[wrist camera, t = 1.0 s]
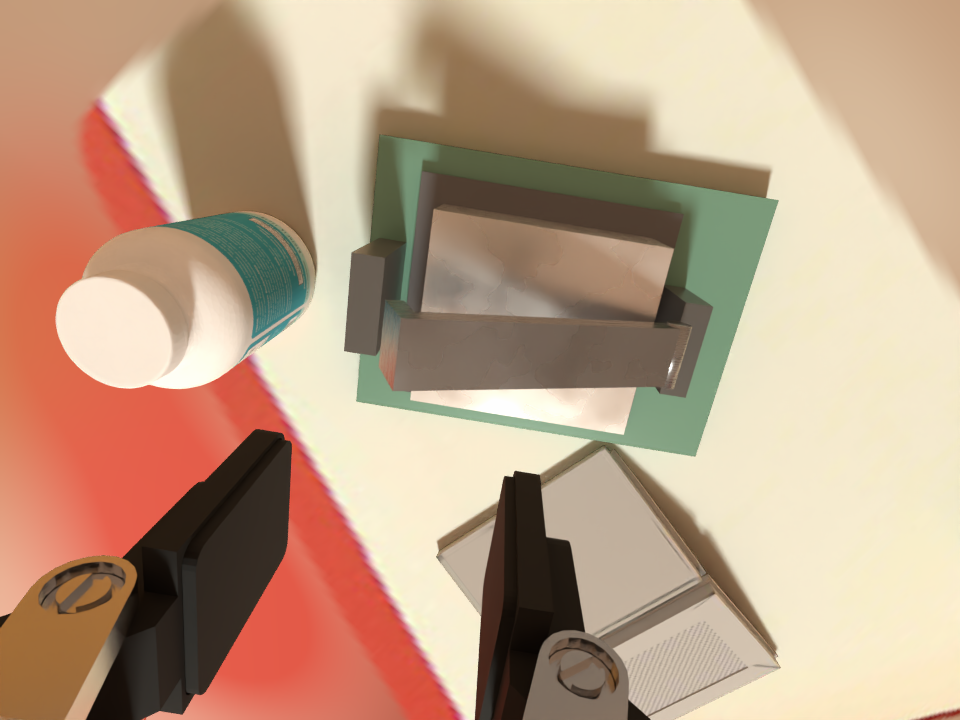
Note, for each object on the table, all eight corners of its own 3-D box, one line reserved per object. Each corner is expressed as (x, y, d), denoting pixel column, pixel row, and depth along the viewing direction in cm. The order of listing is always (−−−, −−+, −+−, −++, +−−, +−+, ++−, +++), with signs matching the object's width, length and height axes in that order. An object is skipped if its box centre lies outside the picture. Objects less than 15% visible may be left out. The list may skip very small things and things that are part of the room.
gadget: (435, 545, 41) (428, 580, 38) (605, 435, 37) (615, 463, 34) (610, 729, 46) (618, 775, 43) (774, 649, 43) (798, 692, 39)
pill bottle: (218, 189, 33) (33, 201, 20) (335, 241, 33) (228, 285, 21) (189, 301, 35) (6, 376, 22) (298, 347, 36) (182, 446, 23)
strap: (660, 312, 29) (697, 328, 26) (645, 368, 30) (679, 389, 27) (385, 297, 23) (401, 316, 20) (378, 368, 24) (393, 394, 22)
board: (766, 198, 31) (840, 207, 24) (688, 445, 37) (730, 510, 30) (385, 135, 31) (349, 126, 24) (362, 392, 37) (327, 445, 30)
